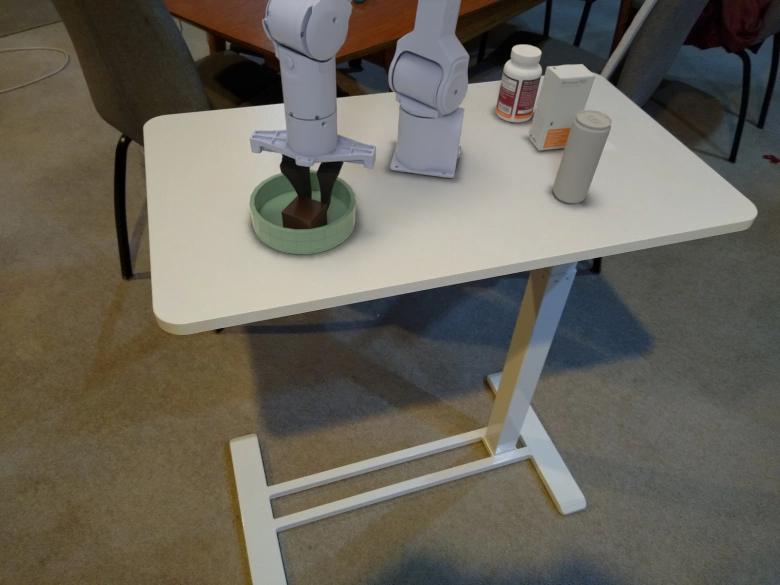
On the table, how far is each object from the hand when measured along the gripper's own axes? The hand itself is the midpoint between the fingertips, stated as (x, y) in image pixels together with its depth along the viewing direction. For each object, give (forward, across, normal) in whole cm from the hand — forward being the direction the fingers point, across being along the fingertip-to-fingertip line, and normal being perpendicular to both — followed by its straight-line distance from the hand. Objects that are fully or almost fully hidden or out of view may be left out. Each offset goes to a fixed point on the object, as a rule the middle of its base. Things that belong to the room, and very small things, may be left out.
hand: (316, 205), depth 72 cm
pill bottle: (+4, +25, +36) cm, 44 cm away
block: (+2, -1, -3) cm, 4 cm away
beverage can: (+3, +33, +14) cm, 36 cm away
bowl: (+3, -2, 0) cm, 3 cm away
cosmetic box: (+4, +31, +28) cm, 42 cm away
